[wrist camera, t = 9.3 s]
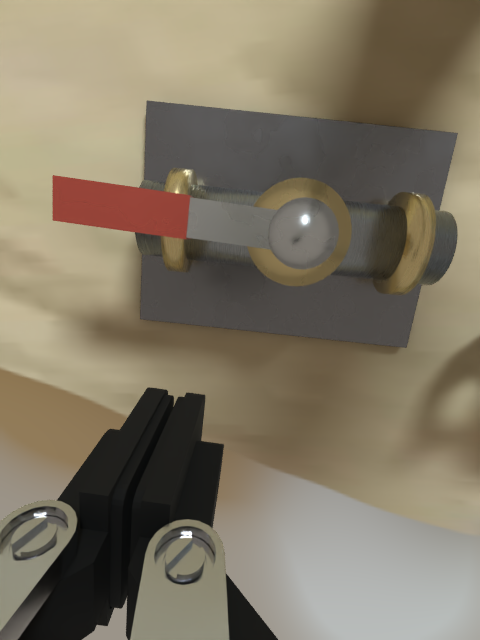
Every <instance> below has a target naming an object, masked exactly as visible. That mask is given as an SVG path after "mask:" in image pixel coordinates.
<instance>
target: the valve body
mask: <svg viewBox="0 0 480 640" xmlns="http://www.w3.org/2000/svg"><path fill="white" fill-rule="evenodd" d="M457 134H458V133H451V132H441V131H432V130H422V129H413V128H403V127H394V126H384V125H375V124H365V123H355V122H346V121H336V120H327V119H317V118H308V117H298V116H289V115H279V114H270V113H260V112H250V111H241V110H231V109H222V108H212V107H203V106H193V105H184V104H174V103H164V102H155V101H147V107H146V141H145V175H144V181H143V182H142V183H141V185H140V187H139V188H144V189H151V190H158V191H165V192H171V193H178V194H185V195H191V196H192V197H194V198H198V199H205V200H212V201H219V202H226V203H233V204H239V205H246V206H253V207H260V208H267V209H274V210H278V209H279V208H280V207H281V206H283V205H284V204H285V203H287V202H289V201H291V200H293V199H296V198H303V197H308V198H314V199H317V200H320V201H321V202H323V203H325V204H326V205H327V206H328V207H329V208H330V209H331V210H332V211H333V213H334V215H335V216H336V219H337V222H338V227H339V237H338V242H337V245H336V247H335V249H334V251H333V253H332V254H331V255H330V257H329V258H328V259H327V260H326V261H324V262H323V263H322V264H320V265H318V266H316V267H314V268H310V269H294V268H291V267H288V266H286V265H284V264H283V263H282V262H280V261H279V260H278V259H277V258H276V257H275V256H274V254H273V253H272V251H271V250H270V249H263V248H256V247H249V246H242V245H235V244H228V243H221V242H214V241H207V240H200V239H193V238H191V239H179V238H172V237H165V236H158V235H151V234H144V233H137V232H135V235H136V241H137V245H138V248H139V250H140V252H141V253H142V276H141V310H140V319H144V320H153V321H162V322H172V323H181V324H190V325H199V326H209V327H218V328H227V329H237V330H246V331H255V332H265V333H274V334H283V335H293V336H302V337H311V338H321V339H330V340H339V341H348V342H358V343H367V344H376V345H386V346H395V347H404V348H406V347H407V343H408V339H409V335H410V331H411V326H412V322H413V318H414V314H415V310H416V306H417V301H418V297H419V293H420V289H421V285H432V284H434V283H436V282H437V281H439V280H440V279H441V278H442V277H443V275H444V274H445V273H446V271H447V269H448V268H449V266H450V264H451V261H452V259H453V256H454V253H455V249H456V244H457V225H456V221H455V219H454V217H453V216H452V214H451V213H449V212H446V211H439V209H440V205H441V201H442V197H443V193H444V189H445V184H446V180H447V176H448V172H449V168H450V163H451V159H452V155H453V151H454V147H455V143H456V138H457Z"/></svg>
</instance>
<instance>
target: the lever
mask: <svg viewBox="0 0 480 640" xmlns="http://www.w3.org/2000/svg"><path fill="white" fill-rule="evenodd" d="M53 220H54V221H61V222H68V223H75V224H82V225H89V226H96V227H103V228H110V229H117V230H123V231H130V232H137V233H144V234H151V235H158V236H165V237H172V238H179V239H191V238H193V239H200V240H207V241H214V242H221V243H228V244H235V245H242V246H249V247H256V248H263V249H270V250H271V251H272V253H273V254H274V256H275V257H276V258H277V259H278V260H279V261H280V262H282V263H283V264H284V265H286V266H288V267H291V268H294V269H310V268H314V267H316V266H318V265H320V264H322V263H323V262H324V261H326V260H327V259H328V258H329V257H330V255H331V254H332V253H333V251H334V249H335V247H336V245H337V242H338V237H339V227H338V222H337V219H336V216H335V215H334V213H333V211H332V210H331V209H330V208H329V207H328V206H327V205H326V204H325V203H323V202H321V201H320V200H317V199H314V198H308V197H303V198H296V199H293V200H291V201H289V202H287V203H285V204H284V205H283V206H281V207H280V208H279V209H278V210H274V209H267V208H260V207H253V206H246V205H239V204H233V203H226V202H219V201H212V200H205V199H198V198H194V197H192V196H191V195H185V194H178V193H171V192H165V191H158V190H151V189H144V188H137V187H130V186H123V185H116V184H109V183H102V182H95V181H88V180H81V179H75V178H68V177H61V176H54V175H53Z"/></svg>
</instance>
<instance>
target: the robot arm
mask: <svg viewBox="0 0 480 640" xmlns="http://www.w3.org/2000/svg"><path fill="white" fill-rule="evenodd" d="M173 405H174V396H171V395H168V391H167V390H164V389H157V388H147V389H146V391H145V392H144V394H143V395H142V397H141V398H140V400H139V402H138V403H137V405H136V406H135V408H134V409H133V411H132V412H131V414H130V415H129V417H128V418H127V420H126V421H125V423H124V424H123V426H122V427H121V429H120V430H115V429H109V430H108V431H107V432H106V433H105V434H104V435H103V437H102V438H101V440H100V441H99V442H98V444H97V445H96V447H95V448H94V449H93V451H92V452H91V454H90V455H89V456H88V458H87V459H86V461H85V462H84V463H83V465H82V466H81V468H80V469H79V471H78V472H77V473H76V475H75V476H74V477H73V479H72V480H71V481H70V483H69V484H68V486H67V487H66V489H65V490H64V491H63V493H62V494H61V495H60V497H59V498H58V500H57V501H55V500H46V501H37V502H34V503H31V504H28V505H25V506H23V507H21V508H19V509H17V510H15V511H13V512H12V513H11V514H9V515H8V516H7V517H6V518H4V519H3V520H1V521H0V640H82V639H83V638H84V637H86V636H87V635H89V634H90V633H92V632H93V631H94V630H95V627H96V625H103V626H108V623H109V621H110V618H111V615H112V612H113V610H114V608H122V607H123V605H124V603H125V600H126V598H127V623H126V624H127V625H126V636H127V638H128V640H278V639H277V638H276V636H275V635H274V634H273V632H272V631H271V630H270V629H269V627H268V626H267V625H266V624H265V622H264V621H263V620H262V618H261V617H260V616H259V615H258V614H257V612H256V611H255V610H254V608H253V607H252V606H251V605H250V603H249V602H248V601H247V599H246V598H245V597H244V596H243V594H242V593H241V592H240V590H239V589H238V588H237V587H236V585H235V584H234V583H233V582H232V580H231V579H230V578H229V576H228V575H227V574H226V569H225V552H224V548H223V543H222V541H221V539H220V537H219V536H218V534H217V532H216V531H214V530H213V529H212V527H213V521H214V514H215V507H216V501H217V494H218V487H219V479H220V472H221V464H222V456H223V448H224V444H218V443H210V442H203V441H201V437H202V427H203V417H204V407H205V395H201V394H194V393H186V395H185V397H178V399H177V401H176V403H175V405H174V407H173Z"/></svg>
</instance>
